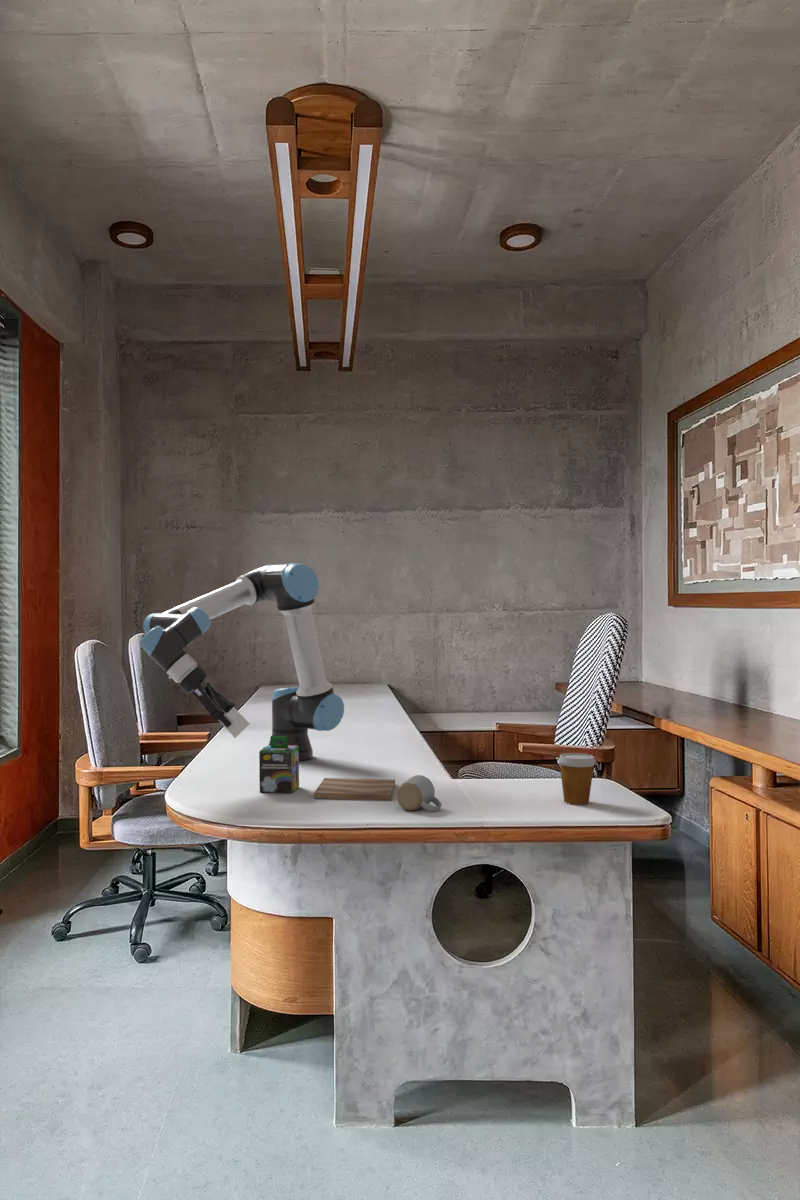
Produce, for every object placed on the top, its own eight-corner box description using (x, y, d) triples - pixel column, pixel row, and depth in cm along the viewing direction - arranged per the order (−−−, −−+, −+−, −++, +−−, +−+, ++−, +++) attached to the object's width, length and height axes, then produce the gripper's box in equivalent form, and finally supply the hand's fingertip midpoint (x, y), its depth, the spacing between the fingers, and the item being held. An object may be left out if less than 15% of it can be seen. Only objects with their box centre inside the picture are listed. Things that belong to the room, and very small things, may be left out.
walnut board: (324, 783, 252) (324, 777, 252) (395, 784, 251) (395, 779, 251) (313, 798, 232) (314, 792, 232) (390, 800, 231) (390, 794, 231)
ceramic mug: (394, 810, 220) (394, 779, 220) (406, 803, 227) (407, 773, 227) (434, 815, 216) (435, 783, 216) (445, 808, 223) (446, 777, 223)
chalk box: (299, 787, 246) (300, 733, 246) (292, 794, 237) (292, 738, 237) (266, 785, 247) (267, 732, 247) (258, 792, 238) (258, 737, 238)
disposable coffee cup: (598, 806, 226) (599, 759, 226) (560, 806, 226) (561, 758, 226) (591, 798, 236) (591, 753, 236) (555, 798, 236) (555, 752, 236)
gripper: (187, 680, 254) (239, 733, 254) (167, 688, 229) (225, 747, 229) (206, 662, 254) (258, 715, 254) (188, 668, 229) (246, 727, 229)
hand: (243, 730), depth 242 cm, fingers open, 13 cm apart
